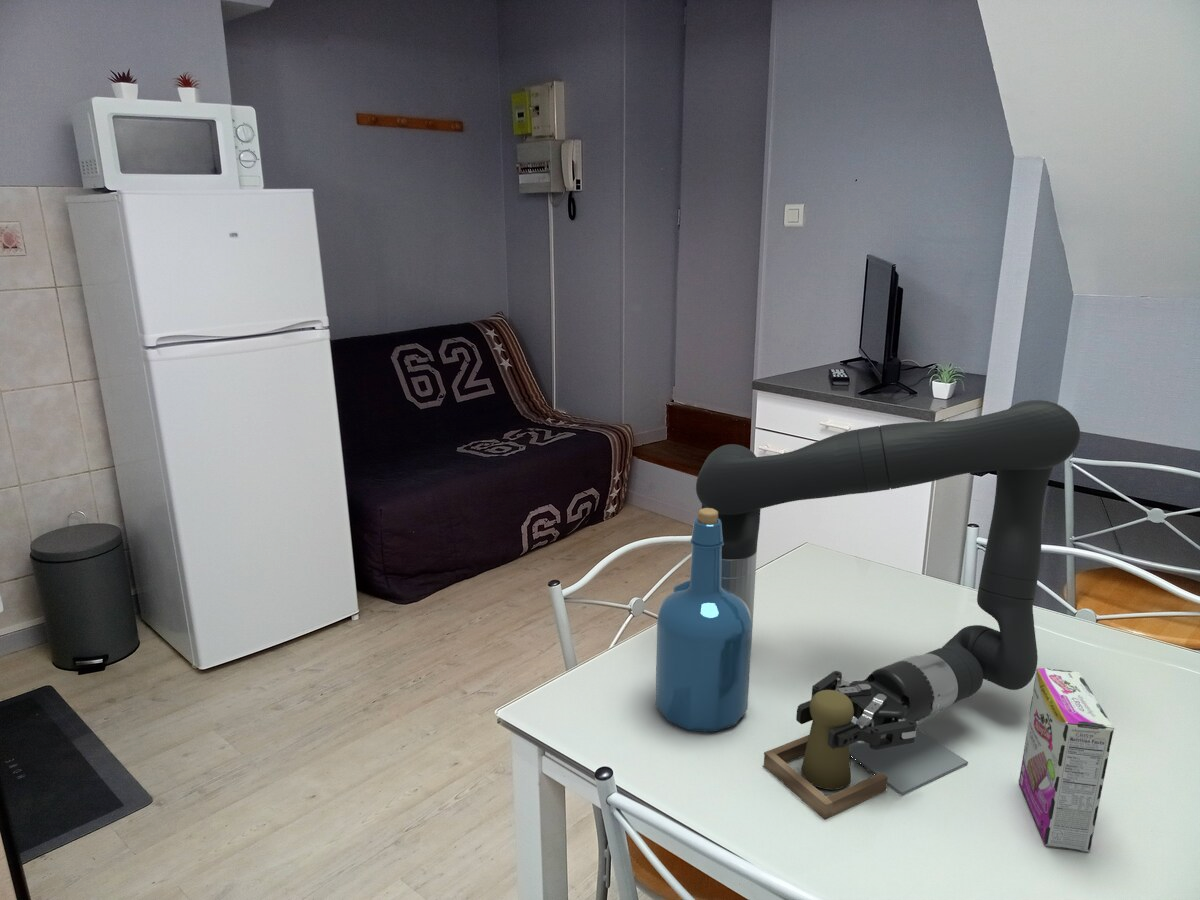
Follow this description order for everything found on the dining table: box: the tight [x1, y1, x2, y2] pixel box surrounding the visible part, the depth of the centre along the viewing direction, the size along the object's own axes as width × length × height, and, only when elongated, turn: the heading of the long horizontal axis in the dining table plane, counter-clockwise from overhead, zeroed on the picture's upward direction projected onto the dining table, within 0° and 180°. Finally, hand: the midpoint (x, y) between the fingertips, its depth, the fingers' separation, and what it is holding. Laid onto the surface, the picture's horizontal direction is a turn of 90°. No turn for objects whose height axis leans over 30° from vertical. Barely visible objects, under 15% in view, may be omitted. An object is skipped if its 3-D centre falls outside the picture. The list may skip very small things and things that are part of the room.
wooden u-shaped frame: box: [763, 734, 888, 820], centre depth 103 cm, size 11×10×2 cm
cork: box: [800, 690, 854, 791], centre depth 102 cm, size 6×6×11 cm
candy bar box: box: [1018, 667, 1115, 853], centre depth 94 cm, size 11×5×16 cm, turn 168°
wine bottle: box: [655, 508, 753, 733], centre depth 113 cm, size 14×13×30 cm
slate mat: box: [849, 716, 969, 796], centre depth 109 cm, size 14×12×1 cm
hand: (814, 727), depth 100 cm, fingers closed on cork, 5 cm apart
